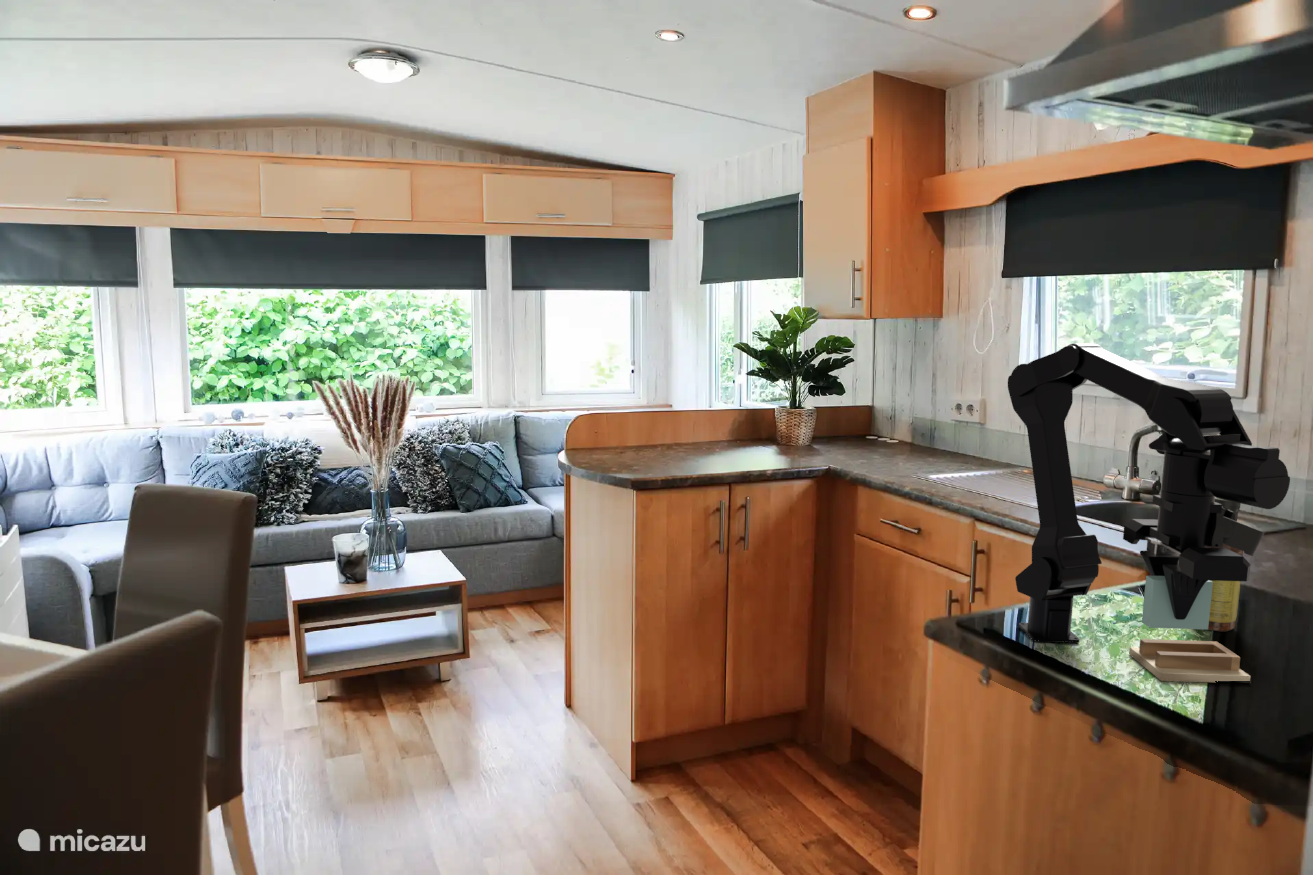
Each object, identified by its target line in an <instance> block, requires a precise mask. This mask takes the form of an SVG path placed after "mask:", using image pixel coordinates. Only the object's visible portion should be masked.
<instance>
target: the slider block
mask: <svg viewBox="0 0 1313 875" xmlns="http://www.w3.org/2000/svg"><path fill="white" fill-rule="evenodd" d="M1144 584H1145V585H1144V595H1143V606H1142V616H1141V624H1143V625H1145V626H1147V627H1148V629H1174V630H1175V629H1177V630H1179V629H1181V630H1208V625H1209V616H1210V606H1211V597H1212V587H1213V582H1212V581H1210V580H1208V581H1207V582H1206V583H1205V584H1204V585H1203V587H1202V588H1201V590H1200V592H1199V593H1198V595H1197V597H1196V599H1195V601H1194V603H1193V605H1192V607H1191V609H1190V611H1189V613H1188V615H1187V617H1186V618H1185V619H1184V620H1178V619H1176V618H1175V617H1174V613H1173V610H1172V606H1171V601H1170V597H1169V592H1168V588H1167V583H1166V579H1165V576H1151V575H1146V576H1145V583H1144Z"/></svg>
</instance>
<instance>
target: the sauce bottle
mask: <svg viewBox="0 0 1313 875" xmlns="http://www.w3.org/2000/svg"><path fill="white" fill-rule="evenodd" d="M1214 502H1217V503H1219V504H1222V507H1223V508H1225V509H1227V510H1230V511H1233V512H1235V521H1237V522H1238V515H1239V511H1240V509H1241V503H1237V502H1232V501H1228V500H1223V499H1219V498H1216V497H1215V500H1214ZM1206 548H1214V547H1210V546H1206ZM1222 548H1226V549H1229V550H1231V551H1233V552H1235V553H1237V554H1239V555H1241V556H1243V555H1244V551H1242V550H1238V549H1236V548H1234V547H1231V546H1229V545H1226V544H1224V543H1223V547H1222ZM1243 557H1244V556H1243ZM1210 581H1212V582H1213V587H1212V597H1211V606H1210V616H1209V625H1208V629H1207V630H1209V631H1215V632H1218V633H1219V632H1222V633H1223V632H1224V633H1225V632H1228V631H1231V630H1233V629H1234V628H1235V627H1236V621H1237V617H1238V616H1237V615H1238V608H1239V600H1240V590H1241V582H1242V581H1213V580H1210Z"/></svg>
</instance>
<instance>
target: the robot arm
mask: <svg viewBox="0 0 1313 875" xmlns="http://www.w3.org/2000/svg"><path fill="white" fill-rule="evenodd" d="M1087 381H1088V382H1091V383H1093V384H1095V385H1097V386H1099V387H1101V388H1103V389H1105V390H1108V391H1109V392H1111V393H1113V394H1115V395H1117V396H1120V397H1121V398H1122V399H1123V398H1124V399H1125V400H1127V401H1130V402H1132V403H1133V404H1135V405H1137V406H1139V407H1140V408H1141V409H1143V410H1144V412H1145V414H1146V415H1147V417H1148V419H1149V421H1151V422H1153V424H1155V425H1156V426H1157V427H1159V428H1160V429H1161V430H1162V431H1163V433H1162V434H1161V435H1160V436H1159V437H1158V438H1156V439H1154V440H1153V441H1151V442H1150V443H1149V444H1148V447H1149V449H1151V450H1155V451H1161V452H1164V455H1163V456H1164V457H1163V465H1162V477H1161V487H1160V494H1152V504H1154V505H1156V506H1158V514H1157V515H1158V516H1157V519H1153V518H1151V519H1150V518H1149V519H1148V518H1147V519H1145V518H1131V519H1130V520H1129V521H1128V522H1127V523H1126V524H1124V526H1123V534H1122V540H1124V541H1125V542H1127V543H1129V544H1131V545H1137V544H1138V543H1139V542H1140V540H1141V541H1147V542H1146V549H1145V550H1140V551H1139V554H1140V556H1141V557H1142V558H1143V561H1144V563H1145V565H1146V567H1147V570H1148V572H1149V576H1165V579H1166V583H1167V588H1168V592H1169V597H1170V601H1171V606H1172V610H1173V613H1174V617H1175V618H1176V619H1178V620H1184V619H1185V618H1186V617H1187V615H1188V613H1189V611H1190V609H1191V607H1192V605H1193V603H1194V601H1195V599H1196V597H1197V595H1198V593H1199V592H1200V590H1201V588H1202V587H1203V585H1204V584H1205V583H1206V582H1207V581H1208V580H1213V581H1241V582H1248V581H1249V580H1250V574H1251V573H1250V572H1251V563H1250V562H1249V561H1248V560H1247V559H1246V558H1245V557H1244V556H1241V555H1239V554H1237V553H1235V552H1233V551H1231V550H1229V549H1226V548H1222V547H1223V543H1224V544H1226V545H1229V546H1231V547H1234V548H1236V549H1238V550H1242V551H1243V554H1246V555H1248V556H1251V557H1253V556H1254V555H1255V553H1256V551H1257V548H1258V547H1259V545H1260V543H1261V541H1262V539H1263V536H1264V535H1265V532H1264V531H1263V530H1259V529H1257V528H1255V527H1252V526H1250V525H1248V524H1244V523H1242V522H1239V521H1238V520H1237V521H1235V512H1233V511H1230V510H1227V509H1225V508H1223V507H1222V504H1219V503H1217V502H1214V500H1215V497H1216V498H1219V499H1223V500H1228V501H1232V502H1237V503H1241V504H1243V505H1246V506H1251V507H1254V508H1260V509H1264V510H1272V509H1274V508H1276V507H1277V506H1279V505H1280V504H1281V503H1282V502H1283V501H1284V499H1285V498H1286V495H1287V494H1288V491H1289V488H1290V484H1291V482H1290V481H1291V478H1290V476H1289V472H1288V468H1287V466H1286V464H1285V463H1284V462H1283V461H1282V460H1281V459H1279V458H1280V452H1281V451H1280V450H1281V449H1279V448H1278V447H1273V446H1255V445H1253V443H1252V441H1251V439H1250V437H1249V436H1248V432H1246V430H1245V428H1244V426H1243V425H1242V423H1241V421H1240V419H1239V417H1238V415H1237V413H1236V412H1235V410H1234V405H1233V403H1232V397H1231V395H1230V394H1229V393H1228V392H1226V390H1224V389H1222V388H1220V387H1214V386H1210V385H1206V384H1202V383H1199V382H1198V383H1197V382H1191V381H1183V380H1177V379H1174V378H1168V377H1165V376H1164V375H1161V374H1159V373H1157V372H1155V371H1153V370H1150V369H1148V368H1145V367H1143V366H1141V365H1139V364H1137V363H1135V362H1132V361H1130V360H1128V359H1126V358H1124V357H1121V356H1119V355H1117V354H1115V353H1112V352H1110V351H1108V350H1106V349H1104V347H1102V345H1099V344H1098V343H1097V344H1096V343H1070V344H1068V345H1067V346H1064V347H1062V348H1061V349H1059V350H1057V351H1055V352H1053V353H1050V354H1048V355H1045V356H1043V357H1040V358H1037V359H1035V360H1032V361H1030V362H1028V363H1021V364H1018V365H1017V366H1015V367H1014V369H1013V370H1012V372H1011V374H1010V375H1009V376H1008V378H1007V389H1008V393H1009V397H1010V402H1011V405H1012V408H1013V411H1014V412H1015V413H1016V415H1017V416H1018V417H1019V419H1020V420H1021V421H1022V423H1023V424H1024V425H1025V426H1026V429H1027V437H1028V445H1029V451H1030V452H1029V453H1030V459H1031V460H1030V461H1031V468H1032V473H1033V482H1034V490H1035V496H1036V497H1035V498H1036V506H1037V512H1038V521H1039V529H1038V531H1037V533H1036V534H1035V535H1036V536H1035V538H1034V539H1033V540H1034V541H1033V542H1032V545H1031V563H1030V564H1029V565H1028V566H1027V567H1025V568H1024V569H1023V570H1022V571H1021V572H1020V573H1018V574H1017V575H1016V576H1015V579H1014V580H1015V585H1016V591H1017V593H1020V594H1022V595H1025V596H1027V597H1029V604H1028V615H1027V616H1028V618H1027V622H1019V623H1018V627H1019V628H1020V629H1021V630H1022V631H1023V632H1024V633H1025V635H1027V636H1028V638H1030V639H1031V640H1032V642H1044V643H1045V642H1047V643H1048V642H1050V643H1077V644H1079V643H1080V638H1079V637H1078V636H1077V635H1076V634H1075V633H1074V632H1072V630H1071V629H1072V620H1073V618H1072V617H1073V607H1074V605H1073V604H1074V597H1075V596H1077V597H1078V596H1087V595H1088V593H1089V590H1090V588H1091V586H1092V584H1093V583H1094V581H1095V580H1096V578H1098V576H1099V568H1100V567H1099V566H1100V565H1102V564H1103V563H1102V560H1101V557H1100V554H1099V549H1098V548H1099V544H1098V543H1099V540H1098V537H1097V536H1096V535H1095V534H1087V533H1086V531H1084V529H1083V528H1082V527H1081V525H1080V524H1079V521H1078V514H1077V506H1076V500H1075V492H1074V484H1073V478H1072V470H1071V462H1070V457H1069V456H1070V455H1069V449H1068V443H1067V442H1068V440H1067V433H1066V428H1065V427H1066V426H1065V422H1066V418H1067V417H1068V415H1069V412H1070V410H1071V407H1072V406H1073V402H1074V401H1073V397H1074V396H1073V395H1074V394H1073V391H1074V390H1075V389H1077V388H1079V387H1081V386H1083V385H1085V384H1086V383H1087ZM1241 504H1240V505H1241ZM1206 546H1210V547H1214V548H1206Z"/></svg>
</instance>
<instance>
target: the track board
mask: <svg viewBox="0 0 1313 875" xmlns="http://www.w3.org/2000/svg"><path fill="white" fill-rule="evenodd" d="M1128 651H1129V652H1128V655H1129V656H1131V657H1132V656H1133V657H1132V658H1133V659H1134V658H1135V659H1134V660H1136V661H1137V660H1138V661H1137V662H1138V663H1139V662H1140V663H1139V664H1140V665H1142V666H1143V667H1144V669H1147V671H1148V672H1149V673H1151V674H1152V675H1153V676H1155V677H1156V678H1157V679H1158V680H1160V681H1161V682H1187V683H1188V682H1189V683H1191V682H1192V683H1216V682H1215V681H1217V682H1218V681H1250V682H1251V675H1250V674H1249V673H1247V672H1245V670H1242V669H1241V668H1240V663H1241V657H1240V656H1239V655H1237V654H1236V653H1235V652H1233V651H1232V650H1230V649H1229V648H1227V647H1226V646H1224V645H1223V644H1221V643H1219V642H1218V641H1217V640H1216V641H1214V640H1212V641H1210V640H1207V641H1206V640H1184V639H1183V640H1180V639H1178V640H1177V639H1150V638H1149V639H1148V638H1140V640H1139V647H1138V646H1136V647H1135V646H1130V647H1129V650H1128Z"/></svg>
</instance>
